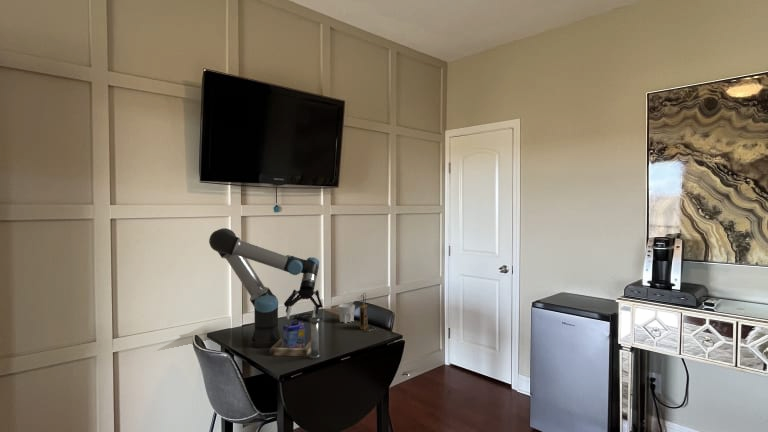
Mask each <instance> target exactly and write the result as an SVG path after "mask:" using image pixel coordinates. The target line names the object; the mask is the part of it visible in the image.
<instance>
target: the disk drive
mask: <svg viewBox="0 0 768 432" xmlns="http://www.w3.org/2000/svg"><path fill="white" fill-rule="evenodd" d="M312 316H313V313H308V312H303V313H299V314H298V315H297V314H296V315H294V316H293V319H297V320H299V321H300V320H303V321H302V322H305V321H308V322H307V323H310V322H309V319H310V318H312ZM315 317H318V318H320V319H321V320H323V316H322V315H321V314H316V316H315ZM297 320H296V321H297Z"/></svg>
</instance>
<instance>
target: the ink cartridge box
mask: <svg viewBox="0 0 768 432" xmlns="http://www.w3.org/2000/svg"><path fill="white" fill-rule="evenodd" d="M282 332H283V335H282V337H283V347H282V348H305V347H306V324H305V323H303V322H300V320H293V321H292V323H289V324H286V325H283V331H282Z"/></svg>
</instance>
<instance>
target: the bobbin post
mask: <svg viewBox="0 0 768 432" xmlns="http://www.w3.org/2000/svg"><path fill="white" fill-rule="evenodd" d="M320 322H321V320H320V318H318V317H314V318H310V319H309V322H308V323H310V341H311V352H310V353H309V355H308V356H309V359H311V360H318V359H320V358H321V353H320V349H319V348H320V345H319V344H320V343H319V342H320V334H319V333H320V332H319V331H320Z"/></svg>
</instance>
